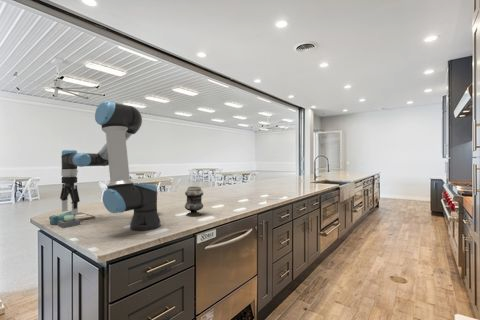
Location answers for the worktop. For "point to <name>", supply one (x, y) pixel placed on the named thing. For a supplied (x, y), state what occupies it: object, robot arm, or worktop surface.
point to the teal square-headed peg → (59, 217)
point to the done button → (68, 218)
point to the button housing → (68, 223)
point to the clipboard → (83, 216)
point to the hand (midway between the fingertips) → (69, 212)
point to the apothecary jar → (194, 201)
